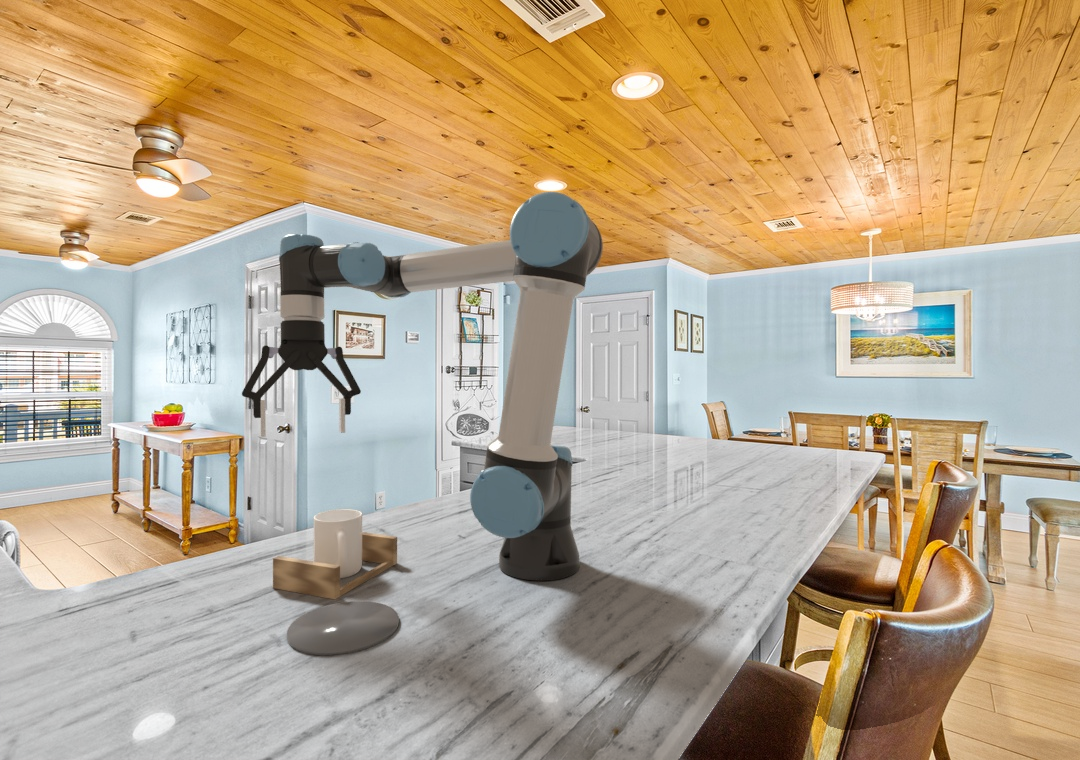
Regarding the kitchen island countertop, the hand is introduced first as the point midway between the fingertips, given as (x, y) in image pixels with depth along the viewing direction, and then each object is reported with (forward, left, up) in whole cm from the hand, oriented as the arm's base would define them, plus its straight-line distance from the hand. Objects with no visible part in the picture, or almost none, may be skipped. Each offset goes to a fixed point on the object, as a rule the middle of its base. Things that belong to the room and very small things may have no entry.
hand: (303, 434), depth 103 cm
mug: (-10, +2, -25) cm, 27 cm away
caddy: (-10, +2, -24) cm, 26 cm away
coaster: (-24, +18, -24) cm, 39 cm away
